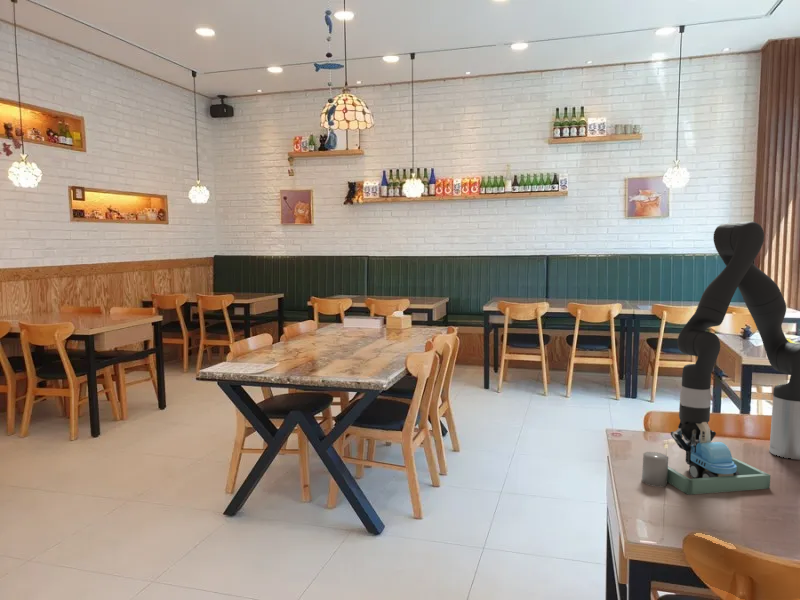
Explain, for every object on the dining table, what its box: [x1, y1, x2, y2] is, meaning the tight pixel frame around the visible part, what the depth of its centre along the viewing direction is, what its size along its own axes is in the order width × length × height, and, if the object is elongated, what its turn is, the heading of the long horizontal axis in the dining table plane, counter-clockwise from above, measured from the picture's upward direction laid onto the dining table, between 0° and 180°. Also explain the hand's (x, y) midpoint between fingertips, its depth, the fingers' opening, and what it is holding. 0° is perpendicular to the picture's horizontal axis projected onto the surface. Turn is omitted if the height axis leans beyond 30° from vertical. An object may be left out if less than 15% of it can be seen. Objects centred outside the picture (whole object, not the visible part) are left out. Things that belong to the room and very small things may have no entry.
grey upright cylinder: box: [641, 451, 669, 488], centre depth 153 cm, size 6×6×7 cm
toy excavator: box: [688, 422, 740, 479], centre depth 156 cm, size 9×17×17 cm, turn 7°
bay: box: [667, 456, 771, 496], centre depth 154 cm, size 23×13×4 cm, turn 101°
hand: (691, 464), depth 162 cm, fingers closed
